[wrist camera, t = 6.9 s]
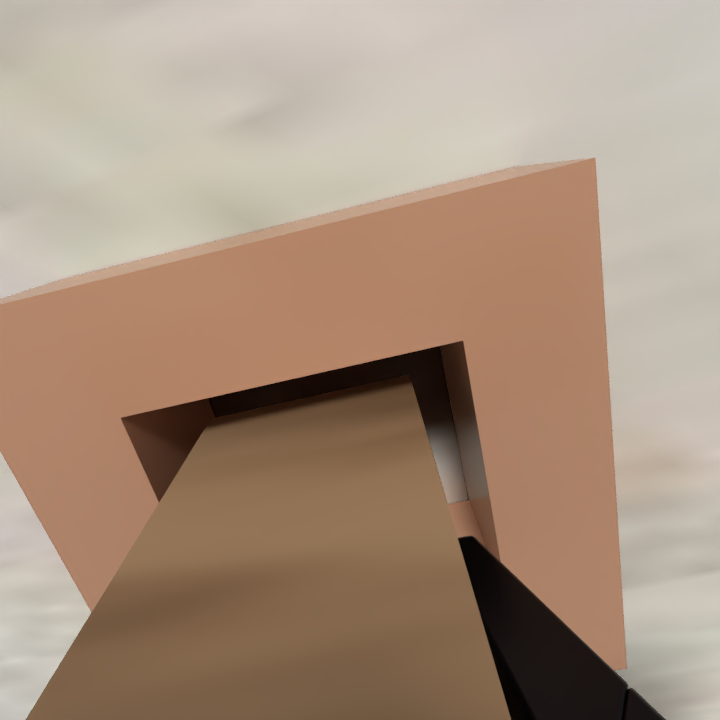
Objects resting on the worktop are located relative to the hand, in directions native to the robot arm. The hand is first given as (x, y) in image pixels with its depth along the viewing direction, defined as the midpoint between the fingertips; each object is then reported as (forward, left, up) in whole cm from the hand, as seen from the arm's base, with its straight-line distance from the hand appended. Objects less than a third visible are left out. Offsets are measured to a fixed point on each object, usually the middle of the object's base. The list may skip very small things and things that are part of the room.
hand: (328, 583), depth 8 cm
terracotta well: (0, 0, -6) cm, 6 cm away
